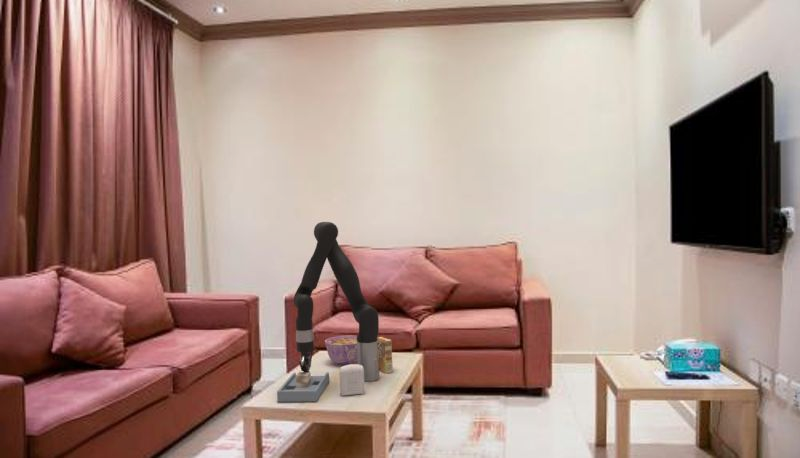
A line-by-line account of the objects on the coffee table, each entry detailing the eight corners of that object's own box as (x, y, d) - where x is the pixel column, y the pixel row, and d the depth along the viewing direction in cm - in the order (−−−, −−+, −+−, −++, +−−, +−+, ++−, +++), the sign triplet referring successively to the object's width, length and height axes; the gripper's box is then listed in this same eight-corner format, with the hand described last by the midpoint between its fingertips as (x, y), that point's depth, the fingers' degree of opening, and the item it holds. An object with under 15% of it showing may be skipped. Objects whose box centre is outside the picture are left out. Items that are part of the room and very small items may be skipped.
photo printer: (363, 391, 247) (362, 362, 247) (365, 394, 243) (364, 364, 243) (339, 393, 245) (338, 364, 244) (340, 396, 241) (339, 367, 240)
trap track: (329, 382, 261) (328, 372, 261) (316, 402, 235) (316, 391, 235) (293, 382, 262) (293, 372, 262) (277, 402, 236) (277, 391, 236)
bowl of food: (356, 369, 280) (355, 345, 280) (318, 367, 286) (317, 343, 286) (371, 358, 299) (370, 336, 299) (335, 356, 305) (334, 334, 305)
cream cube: (310, 383, 250) (310, 372, 250) (307, 387, 245) (307, 375, 245) (299, 383, 250) (299, 372, 250) (296, 387, 246) (295, 375, 245)
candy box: (393, 372, 274) (392, 339, 273) (385, 373, 271) (384, 341, 271) (383, 368, 281) (382, 336, 280) (375, 369, 279) (374, 337, 278)
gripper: (309, 343, 245) (311, 384, 246) (316, 335, 258) (318, 374, 259) (292, 343, 246) (294, 384, 247) (300, 336, 259) (302, 374, 260)
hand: (306, 379), depth 253 cm, fingers closed
